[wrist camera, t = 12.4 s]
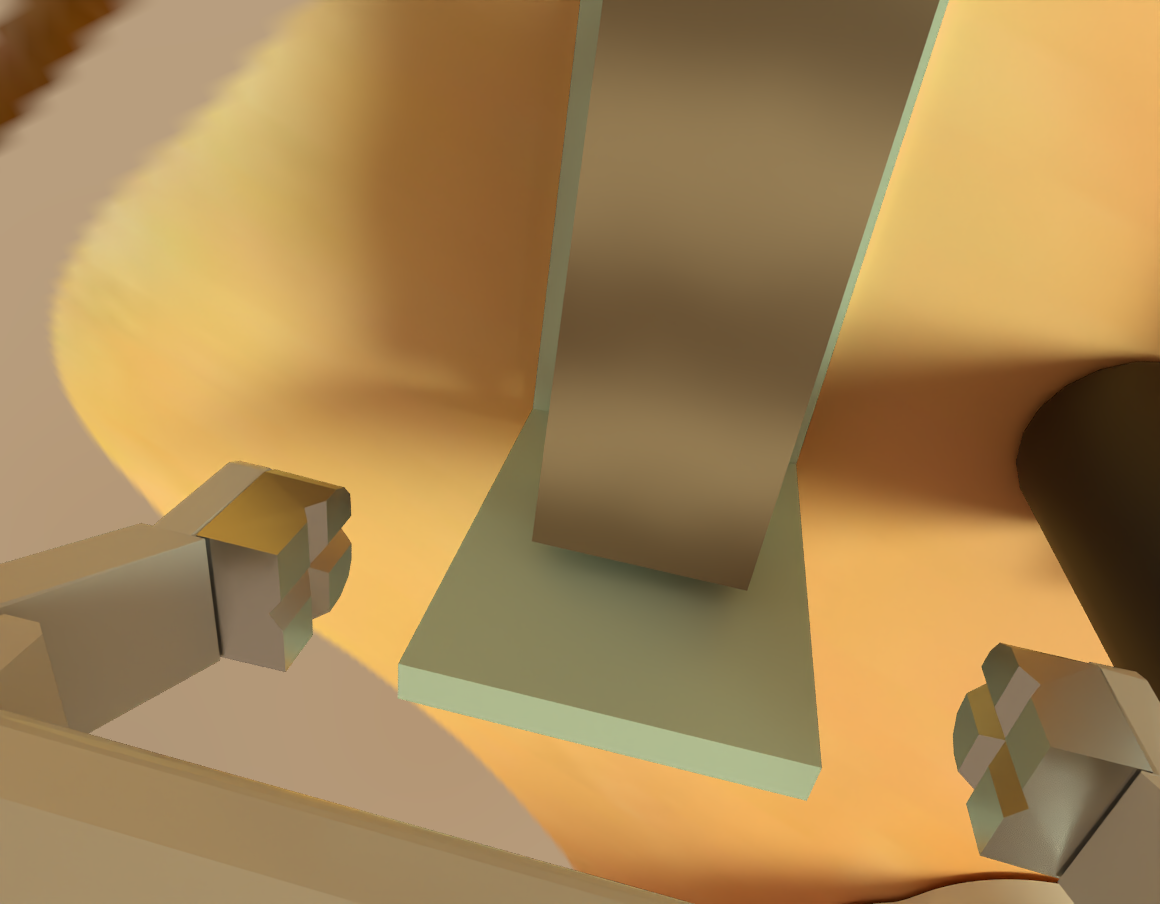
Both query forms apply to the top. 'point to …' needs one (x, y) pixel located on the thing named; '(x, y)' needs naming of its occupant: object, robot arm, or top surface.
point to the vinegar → (1104, 503)
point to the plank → (712, 264)
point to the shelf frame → (629, 590)
